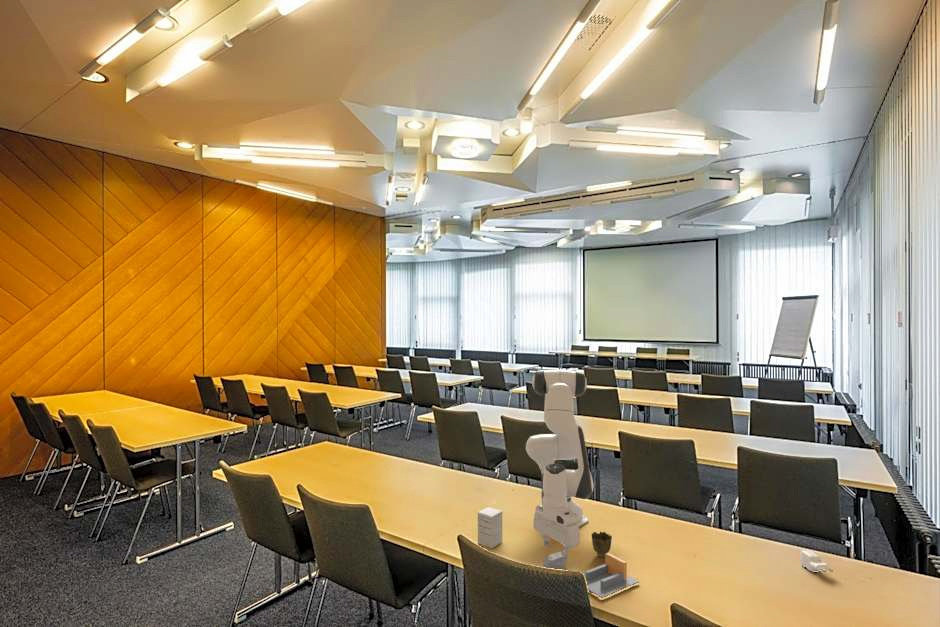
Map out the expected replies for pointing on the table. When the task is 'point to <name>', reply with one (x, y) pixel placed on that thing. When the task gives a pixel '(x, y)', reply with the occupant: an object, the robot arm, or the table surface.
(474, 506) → the table surface
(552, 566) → the link block
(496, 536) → the supplement box
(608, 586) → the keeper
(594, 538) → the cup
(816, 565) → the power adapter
